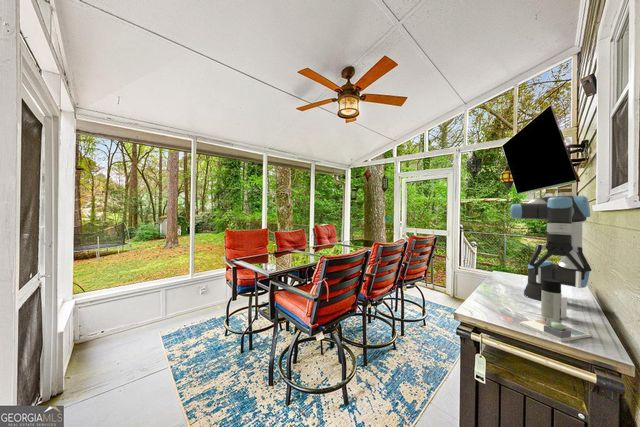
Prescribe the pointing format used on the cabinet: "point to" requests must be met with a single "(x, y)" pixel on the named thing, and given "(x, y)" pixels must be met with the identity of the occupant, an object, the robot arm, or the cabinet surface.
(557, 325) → the button
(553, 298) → the spray can
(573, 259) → the robot arm
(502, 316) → the cabinet surface
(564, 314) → the mug
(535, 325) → the picture board
